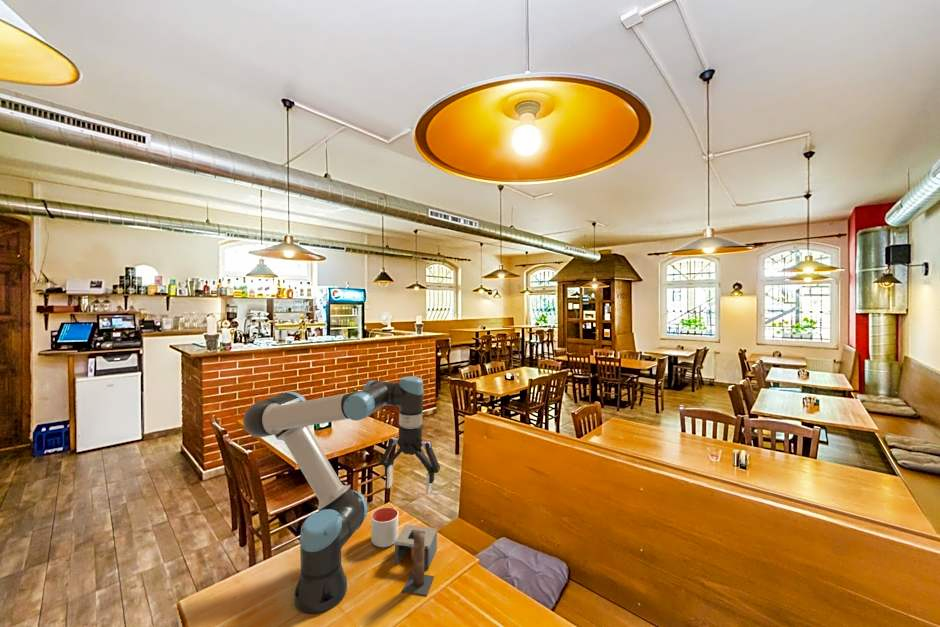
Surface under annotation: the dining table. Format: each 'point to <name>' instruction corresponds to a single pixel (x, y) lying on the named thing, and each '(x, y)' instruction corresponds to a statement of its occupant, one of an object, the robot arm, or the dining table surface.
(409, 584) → the coaster
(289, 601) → the dining table surface
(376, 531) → the cup
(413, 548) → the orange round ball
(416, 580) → the rod
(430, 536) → the grey box with hole
